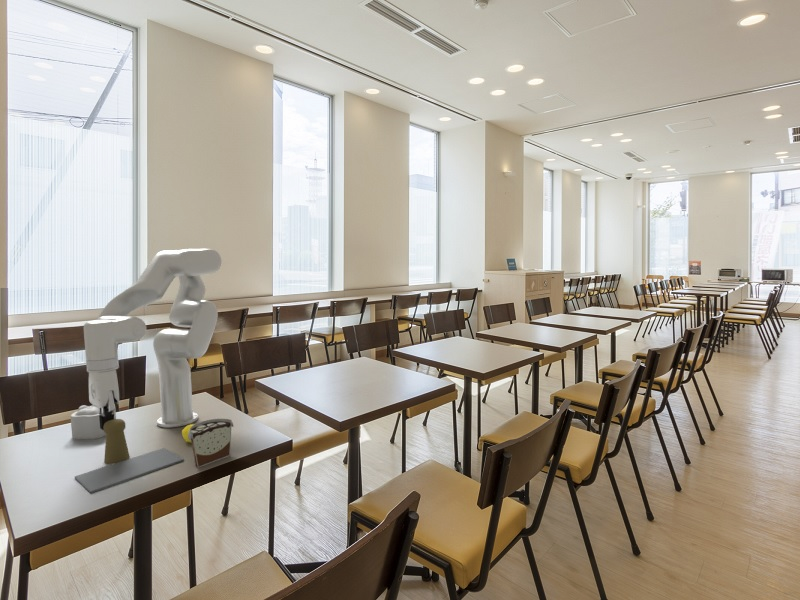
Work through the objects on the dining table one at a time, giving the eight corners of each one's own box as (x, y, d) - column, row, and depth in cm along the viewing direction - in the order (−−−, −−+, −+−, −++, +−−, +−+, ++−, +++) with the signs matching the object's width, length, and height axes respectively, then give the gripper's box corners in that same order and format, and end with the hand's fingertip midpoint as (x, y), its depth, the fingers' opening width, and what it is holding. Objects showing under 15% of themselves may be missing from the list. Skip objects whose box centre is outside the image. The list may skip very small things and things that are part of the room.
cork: (102, 465, 124) (98, 425, 123) (106, 456, 129) (103, 418, 128) (128, 461, 126) (125, 422, 125) (131, 452, 132) (128, 415, 131)
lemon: (207, 440, 141) (209, 423, 140) (196, 447, 136) (197, 430, 135) (187, 435, 142) (188, 419, 142) (175, 442, 137) (176, 425, 136)
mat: (74, 478, 117) (74, 476, 117) (164, 449, 134) (164, 447, 134) (90, 493, 109) (90, 491, 109) (183, 460, 126) (183, 459, 126)
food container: (223, 448, 134) (221, 414, 133) (235, 453, 130) (233, 419, 129) (180, 463, 124) (178, 427, 123) (192, 470, 120) (189, 433, 119)
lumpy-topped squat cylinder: (66, 439, 142) (64, 412, 141) (93, 424, 155) (91, 399, 154) (101, 438, 142) (98, 411, 141) (125, 423, 155) (123, 398, 154)
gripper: (78, 363, 131) (83, 425, 132) (96, 371, 121) (101, 438, 123) (108, 358, 136) (113, 418, 138) (127, 365, 127) (132, 430, 128)
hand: (107, 428), depth 130 cm, fingers closed
